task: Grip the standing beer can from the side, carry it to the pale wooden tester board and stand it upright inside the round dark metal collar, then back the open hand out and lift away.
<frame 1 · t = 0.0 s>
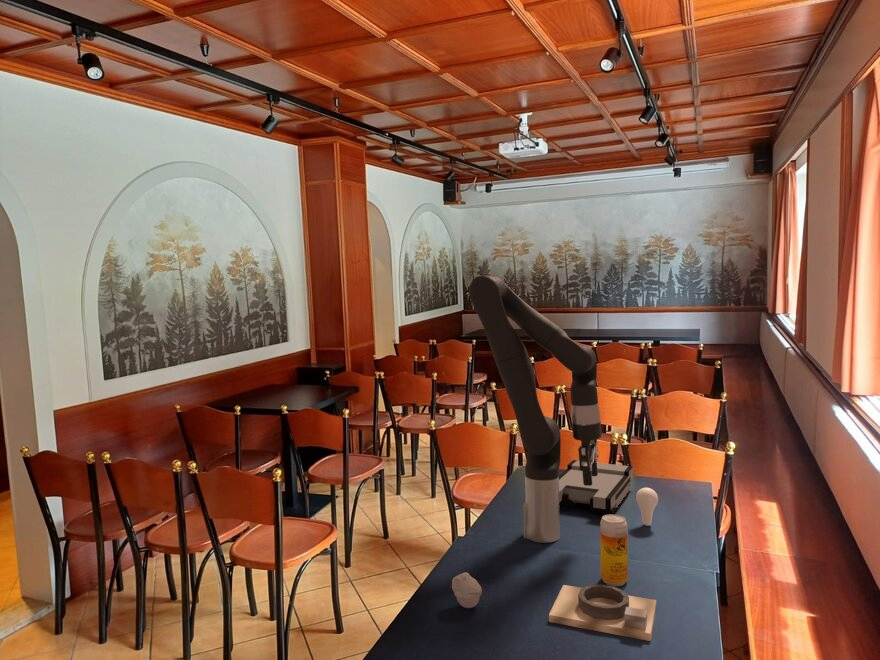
hand: (590, 480, 166), 17 cm above the table, tool pointing down, fingers open, 8 cm apart
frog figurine: (467, 607, 135), on the table
beer can: (614, 581, 145), on the table
lightbulb: (647, 526, 179), on the table
game console: (590, 501, 202), on the table
tester board: (603, 614, 131), on the table
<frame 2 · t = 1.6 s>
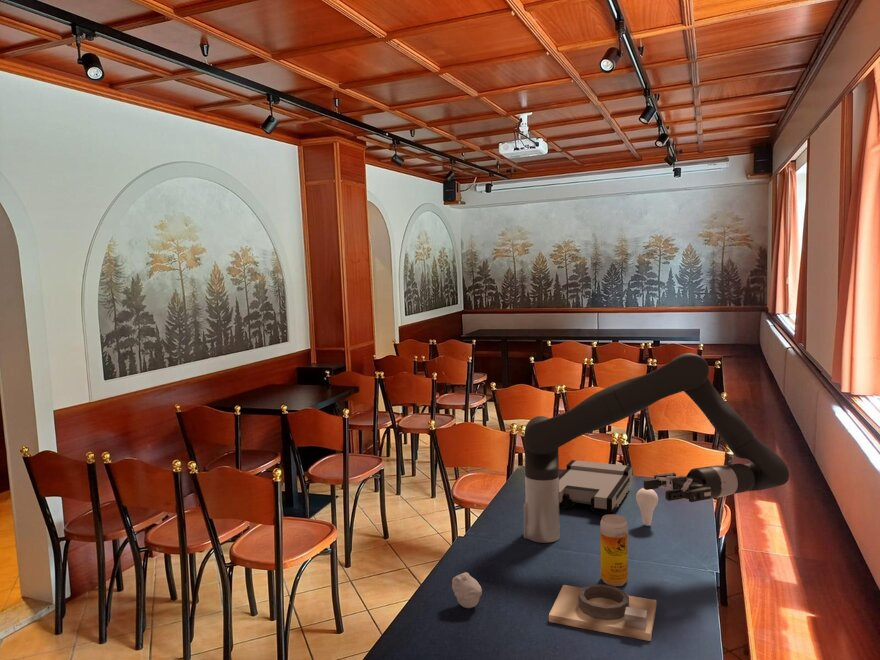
hand: (655, 490, 147), 20 cm above the table, tool horizontal, fingers open, 8 cm apart
nothing on the table moved.
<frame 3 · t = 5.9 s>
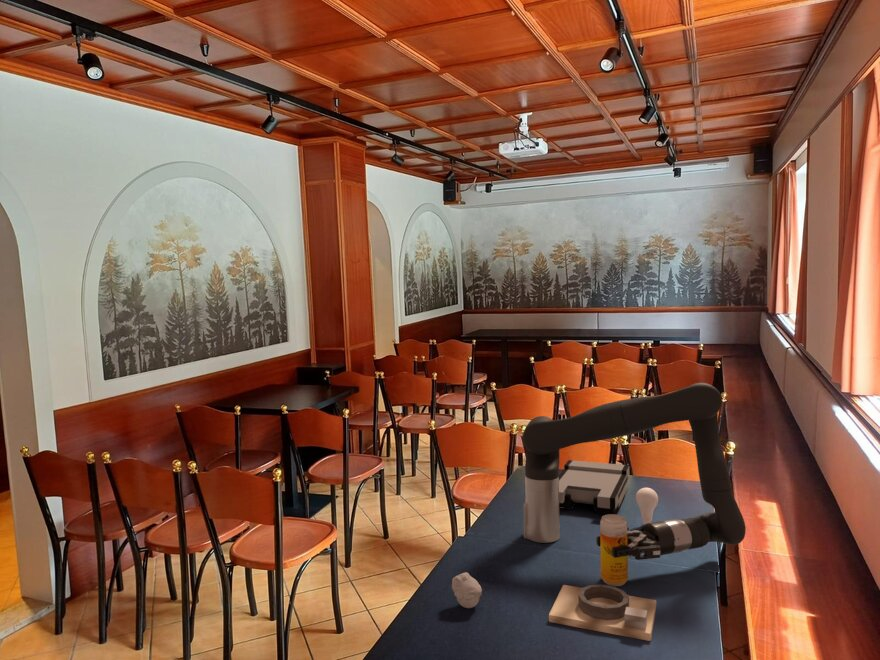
hand: (605, 547, 144), 9 cm above the table, tool horizontal, fingers closed on beer can, 6 cm apart
beer can: (614, 581, 145), on the table, touching gripper
when the fingers open (11 cm above the table, at t = 11.2 s): beer can drops 1 cm, resting on tester board.
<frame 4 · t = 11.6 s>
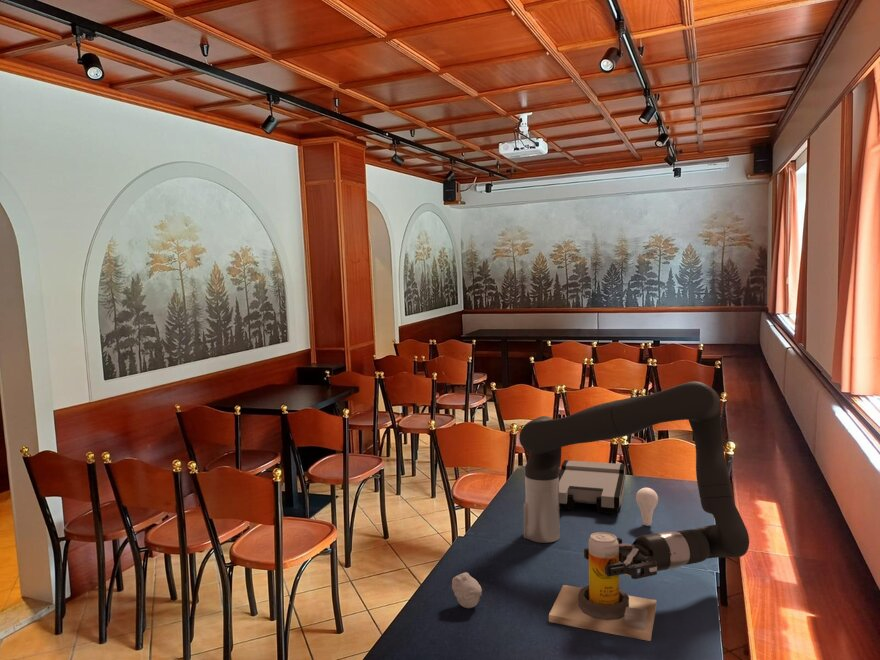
hand: (595, 562, 129), 12 cm above the table, tool horizontal, fingers open, 8 cm apart
beer can: (604, 607, 131), point 1 cm above the table, touching tester board
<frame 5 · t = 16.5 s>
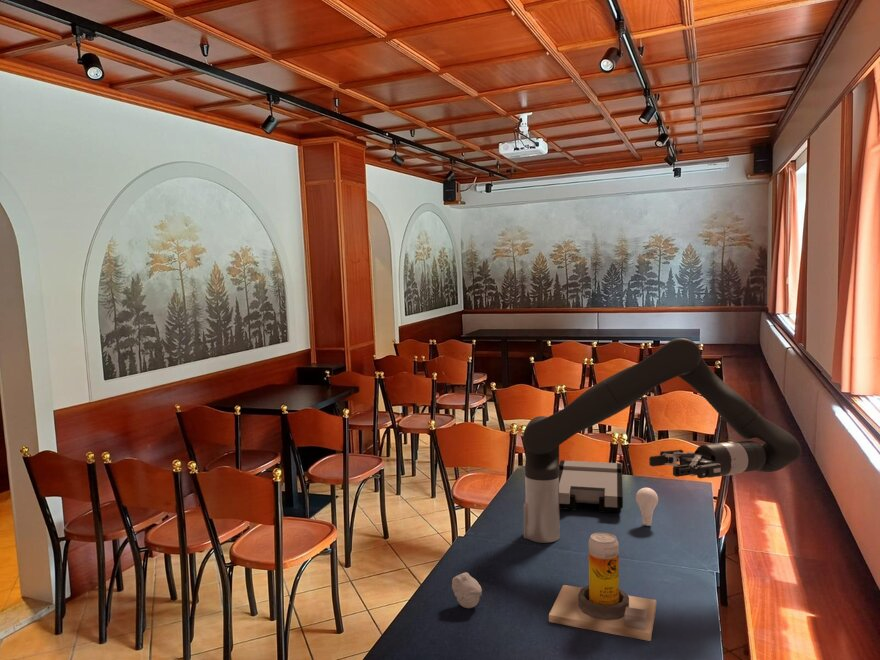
hand: (661, 466, 140), 28 cm above the table, tool horizontal, fingers open, 8 cm apart
at the end: beer can 0.2 cm off-centre on the tester board, point 1.3 cm above the tester board's base; beer can tilted 0°; the gripper is holding nothing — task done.
